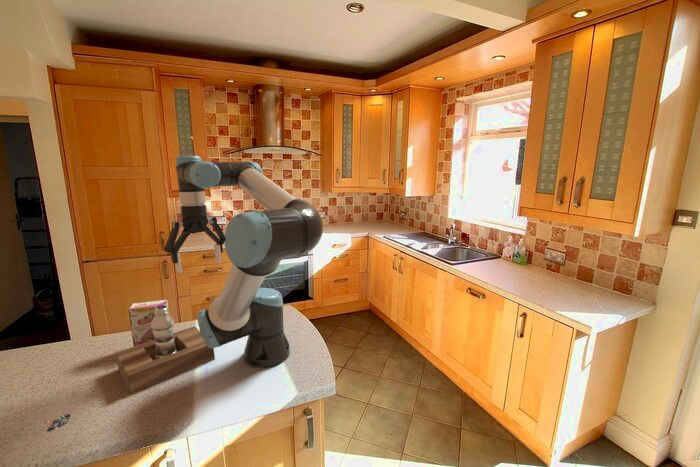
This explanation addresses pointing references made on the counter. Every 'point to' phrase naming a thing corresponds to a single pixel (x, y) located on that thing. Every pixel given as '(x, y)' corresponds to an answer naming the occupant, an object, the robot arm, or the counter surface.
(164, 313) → the plastic bottle
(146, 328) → the candy bar box
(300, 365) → the counter surface
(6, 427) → the counter surface
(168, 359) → the bottle caddy
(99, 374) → the counter surface
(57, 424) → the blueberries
